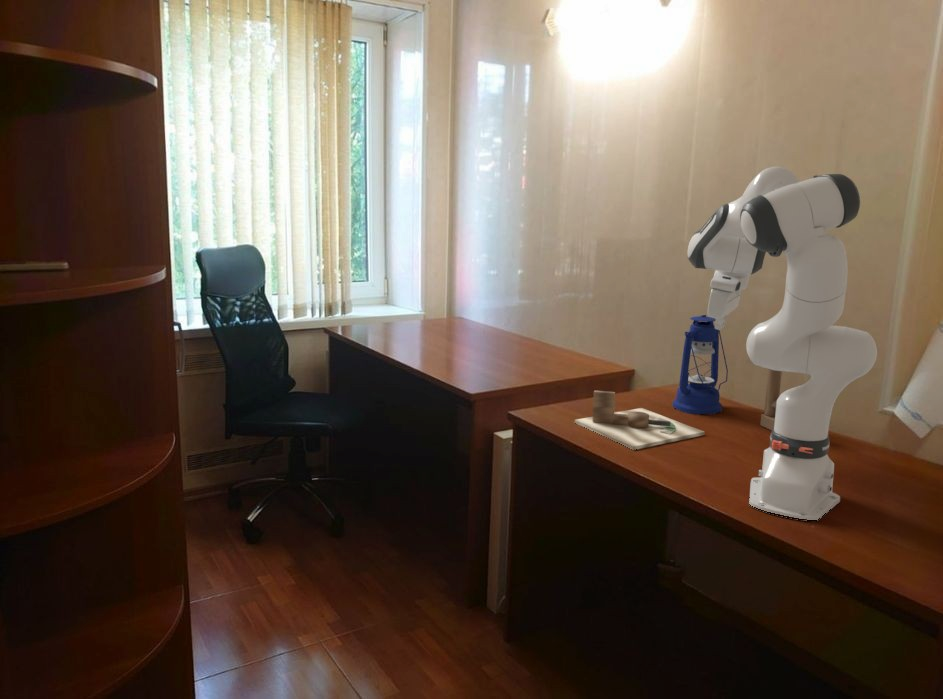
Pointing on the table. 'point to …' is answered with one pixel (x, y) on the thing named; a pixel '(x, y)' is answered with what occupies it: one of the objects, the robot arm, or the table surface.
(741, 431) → the table surface
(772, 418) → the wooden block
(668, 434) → the tuner board
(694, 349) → the lantern
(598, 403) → the brown wooden long piece
